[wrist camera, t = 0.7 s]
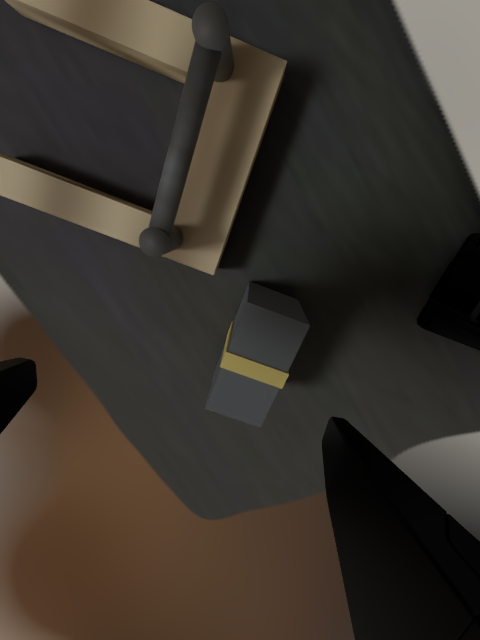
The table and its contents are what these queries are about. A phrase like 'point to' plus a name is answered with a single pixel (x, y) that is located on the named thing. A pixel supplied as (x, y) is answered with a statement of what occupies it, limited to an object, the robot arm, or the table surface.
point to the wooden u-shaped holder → (188, 133)
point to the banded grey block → (257, 354)
